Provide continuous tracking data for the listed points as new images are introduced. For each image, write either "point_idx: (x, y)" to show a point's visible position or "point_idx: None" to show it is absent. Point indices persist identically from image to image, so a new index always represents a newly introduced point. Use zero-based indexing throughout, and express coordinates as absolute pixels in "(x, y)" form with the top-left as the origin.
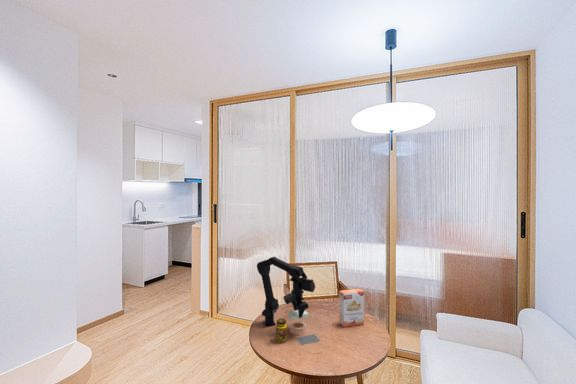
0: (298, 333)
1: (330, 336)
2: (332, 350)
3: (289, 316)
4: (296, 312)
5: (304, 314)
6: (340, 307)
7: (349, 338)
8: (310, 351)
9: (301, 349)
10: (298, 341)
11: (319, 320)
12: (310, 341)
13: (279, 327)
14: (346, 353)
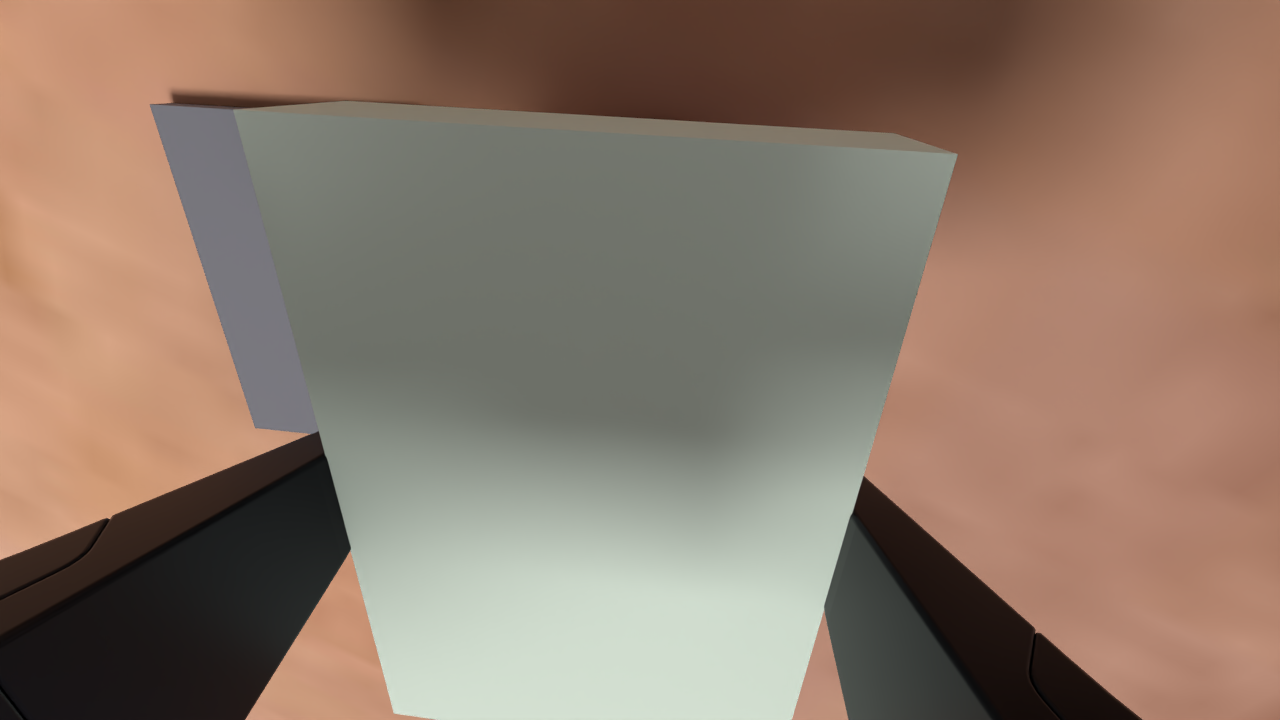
0: None
1: None
2: (83, 441)
3: (615, 120)
4: (628, 500)
5: (377, 626)
6: None
7: (318, 675)
8: (35, 183)
9: (82, 67)
10: None
11: (830, 669)
12: (253, 303)
13: None
14: (34, 521)
